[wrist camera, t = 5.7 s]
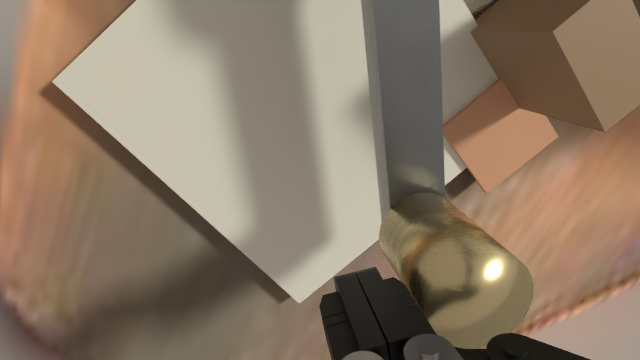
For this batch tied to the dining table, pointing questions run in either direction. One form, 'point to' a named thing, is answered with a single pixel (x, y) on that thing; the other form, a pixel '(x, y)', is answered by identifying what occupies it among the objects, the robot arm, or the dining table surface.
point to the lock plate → (336, 108)
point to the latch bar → (431, 186)
